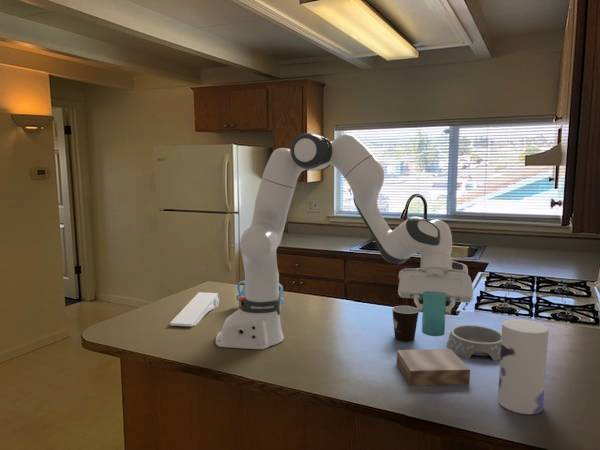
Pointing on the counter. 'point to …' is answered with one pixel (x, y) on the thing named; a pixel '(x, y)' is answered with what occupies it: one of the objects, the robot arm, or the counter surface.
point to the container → (522, 366)
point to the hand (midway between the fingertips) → (433, 312)
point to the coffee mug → (405, 322)
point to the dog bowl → (475, 341)
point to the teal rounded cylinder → (433, 313)
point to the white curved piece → (196, 309)
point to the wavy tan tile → (432, 367)
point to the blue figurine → (244, 291)
